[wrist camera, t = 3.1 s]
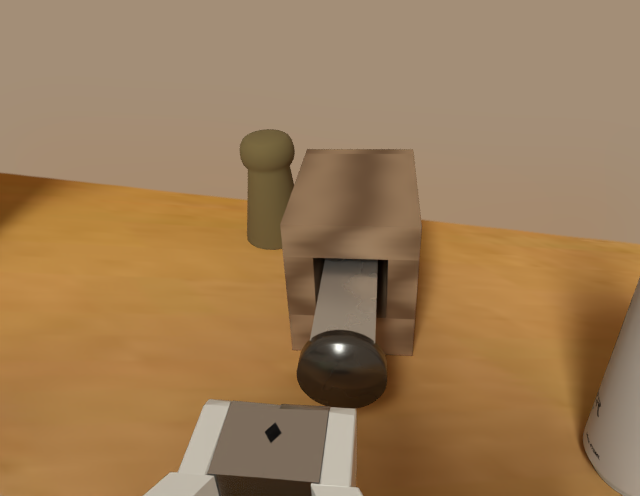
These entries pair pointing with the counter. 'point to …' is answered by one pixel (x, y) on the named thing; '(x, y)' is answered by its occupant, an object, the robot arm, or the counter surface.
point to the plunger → (344, 338)
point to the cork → (267, 184)
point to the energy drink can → (619, 411)
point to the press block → (355, 235)
